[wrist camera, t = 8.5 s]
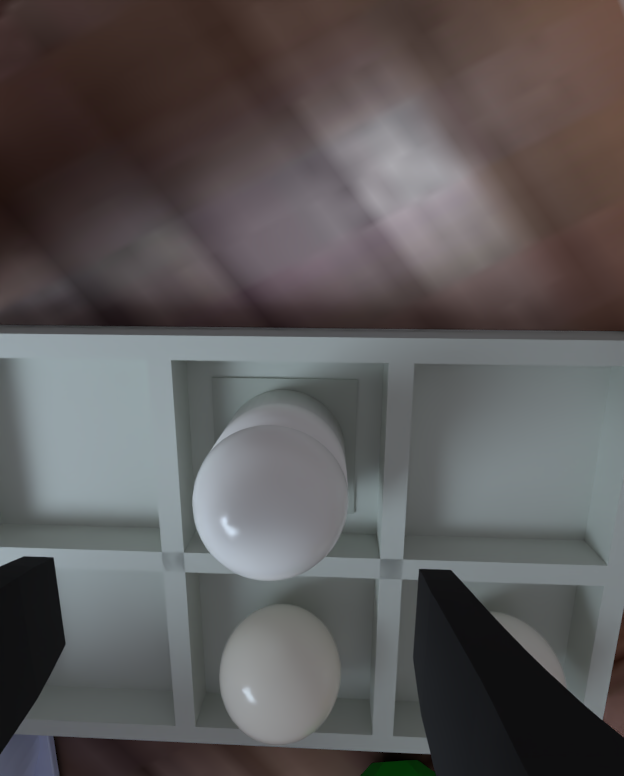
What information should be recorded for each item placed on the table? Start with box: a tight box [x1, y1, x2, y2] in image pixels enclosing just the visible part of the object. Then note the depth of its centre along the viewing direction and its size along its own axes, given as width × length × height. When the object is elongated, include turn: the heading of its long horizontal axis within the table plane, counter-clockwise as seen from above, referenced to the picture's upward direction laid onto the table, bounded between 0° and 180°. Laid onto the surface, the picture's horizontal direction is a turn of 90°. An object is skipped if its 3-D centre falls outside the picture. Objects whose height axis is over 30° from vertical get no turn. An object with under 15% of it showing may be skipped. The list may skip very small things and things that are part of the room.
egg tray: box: [0, 325, 624, 754], centre depth 18 cm, size 16×24×2 cm
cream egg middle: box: [219, 604, 341, 745], centre depth 17 cm, size 4×4×4 cm
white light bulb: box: [192, 390, 349, 581], centre depth 14 cm, size 4×4×6 cm
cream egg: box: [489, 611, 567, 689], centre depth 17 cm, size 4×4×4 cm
